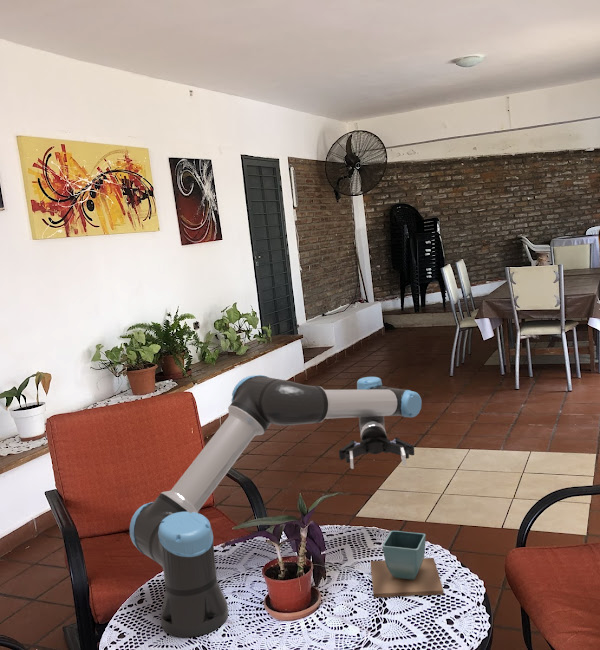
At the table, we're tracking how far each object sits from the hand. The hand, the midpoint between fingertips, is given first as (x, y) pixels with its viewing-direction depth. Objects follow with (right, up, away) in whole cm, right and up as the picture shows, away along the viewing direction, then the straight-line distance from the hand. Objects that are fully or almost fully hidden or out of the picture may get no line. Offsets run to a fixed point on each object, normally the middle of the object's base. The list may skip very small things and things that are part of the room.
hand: (378, 462), depth 174 cm
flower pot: (+6, -25, -11) cm, 28 cm away
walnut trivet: (+5, -26, -11) cm, 29 cm away
